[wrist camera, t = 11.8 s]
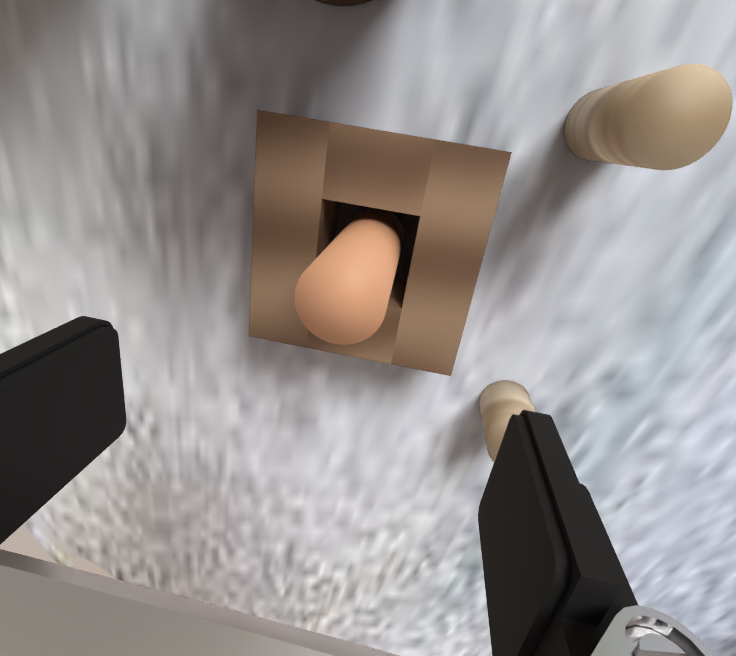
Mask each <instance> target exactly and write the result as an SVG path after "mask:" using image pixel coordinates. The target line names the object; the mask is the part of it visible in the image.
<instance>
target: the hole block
mask: <svg viewBox="0 0 736 656" xmlns="http://www.w3.org/2000/svg"><path fill="white" fill-rule="evenodd" d="M511 153H512V152H506V151H500V150H494V149H488V148H482V147H476V146H470V145H464V144H458V143H452V142H446V141H440V140H434V139H428V138H422V137H416V136H410V135H404V134H398V133H392V132H386V131H380V130H374V129H368V128H362V127H356V126H350V125H344V124H338V123H332V122H326V121H320V120H314V119H308V118H302V117H297V116H291V115H285V114H279V113H273V112H267V111H261V110H257V129H256V156H255V183H254V210H253V237H252V264H251V291H250V318H249V336H251V337H256V338H261V339H266V340H271V341H276V342H281V343H286V344H291V345H296V346H301V347H307V348H312V349H317V350H322V351H327V352H332V353H337V354H342V355H347V356H352V357H357V358H362V359H367V360H373V361H378V362H383V363H388V364H393V365H398V366H403V367H408V368H413V369H418V370H423V371H428V372H434V373H439V374H444V375H449V376H451V374H452V370H453V366H454V363H455V359H456V355H457V352H458V348H459V344H460V341H461V337H462V333H463V330H464V326H465V322H466V318H467V315H468V311H469V307H470V304H471V300H472V296H473V293H474V289H475V285H476V282H477V278H478V274H479V271H480V267H481V263H482V260H483V256H484V252H485V248H486V245H487V241H488V237H489V234H490V230H491V226H492V223H493V219H494V215H495V212H496V208H497V204H498V201H499V197H500V193H501V190H502V186H503V182H504V178H505V175H506V171H507V167H508V164H509V160H510V156H511ZM339 202H343V203H349V204H355V205H360V206H366V207H372V208H377V209H383V210H388V211H394V212H400V213H405V214H411V215H417V216H419V219H418V224H417V229H416V234H415V239H414V244H413V249H412V254H411V259H410V264H409V269H408V275H407V280H406V281H404V280H399V279H394V281H393V285H392V289H391V293H390V297H389V301H388V306H387V310H386V314H385V317H384V320H383V322H382V324H381V325H380V327H379V328H378V330H377V331H376V332H375V333H374V334H373V335H372V336H370V337H369V338H367V339H365V340H364V341H361V342H359V343H355V344H349V345H339V344H333V343H329V342H326V341H324V340H322V339H320V338H318V337H317V336H315V335H314V334H312V333H311V332H310V331H309V330H308V329H307V328H306V327H305V326H304V324H303V323H302V321H301V320H300V318H299V316H298V313H297V311H296V307H295V288H296V285H297V282H298V280H299V278H300V276H301V275H302V273H303V272H304V271H305V270H306V269H307V268H308V267H309V266H310V265H311V263H312V262H313V261H314V260H315V259H316V258H317V257H318V256H319V255H320V254H321V253H322V252H323V251H324V250H325V248H326V247H327V246H328V245H329V244H330V243H331V242H332V241H333V240H334V238H335V230H336V222H337V213H338V205H339Z"/></svg>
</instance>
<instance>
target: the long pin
mask: <svg viewBox="0 0 736 656" xmlns="http://www.w3.org/2000/svg"><path fill="white" fill-rule="evenodd" d="M403 240H404V231H403V227H402V224H401V222H400V221H399V219H398V218H397V217H396V216H395V215H394V214H393V213H392V212H390V211H388V210H383V209H377V208H368V209H365V210H363V211H361V212H360V213H359V214H357V215H356V216H355V217H354V219H353V220H352V221H351V222H350V223H349V224H348V225H347V226H346V227H345V228H344V229H343V230H342V231H341V232H340V233H339V235H338V236H337V237H336V238H335V239H334V240H333V241H332V242H331V243H330V244H329V245H328V246H327V247H326V248H325V250H324V251H323V252H322V253H321V254H320V255H319V256H318V257H317V258H316V259H315V260H314V261H313V262H312V263H311V265H310V266H309V267H308V268H307V269H306V270H305V271H304V272H303V273H302V275H301V276H300V278H299V280H298V282H297V285H296V288H295V307H296V311H297V313H298V316H299V318H300V320H301V321H302V323H303V324H304V326H305V327H306V328H307V329H308V330H309V331H310V332H311V333H312V334H314V335H315V336H317V337H318V338H320V339H322V340H324V341H326V342H329V343H333V344H339V345H349V344H355V343H359V342H361V341H364V340H365V339H367V338H369V337H370V336H372V335H373V334H374V333H375V332H376V331H377V330H378V328H379V327H380V325H381V324H382V322H383V320H384V317H385V314H386V310H387V306H388V301H389V297H390V293H391V289H392V285H393V281H394V277H395V273H396V269H397V265H398V261H399V257H400V253H401V249H402V245H403Z"/></svg>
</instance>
